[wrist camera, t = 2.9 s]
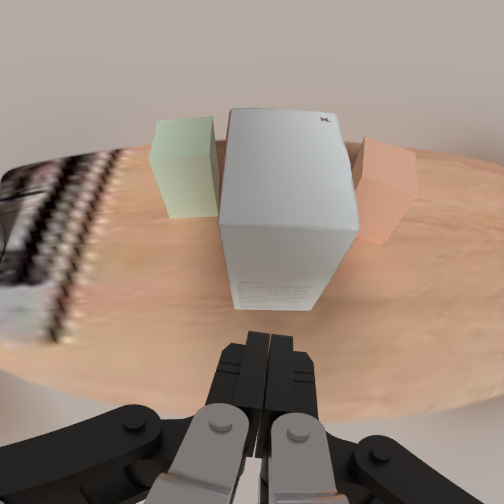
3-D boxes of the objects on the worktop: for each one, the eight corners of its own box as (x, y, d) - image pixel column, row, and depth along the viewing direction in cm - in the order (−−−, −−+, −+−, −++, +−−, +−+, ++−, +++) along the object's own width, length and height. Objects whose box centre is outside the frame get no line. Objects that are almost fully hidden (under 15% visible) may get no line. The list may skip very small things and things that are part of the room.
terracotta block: (336, 232, 28) (362, 175, 20) (342, 195, 30) (364, 136, 22) (381, 245, 27) (418, 193, 20) (384, 207, 29) (415, 152, 22)
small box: (236, 223, 28) (229, 105, 16) (307, 225, 28) (338, 110, 16) (232, 312, 24) (214, 224, 13) (311, 313, 24) (366, 229, 13)
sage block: (170, 218, 28) (148, 159, 21) (175, 181, 30) (158, 121, 23) (218, 216, 28) (209, 155, 21) (219, 178, 30) (212, 116, 23)
